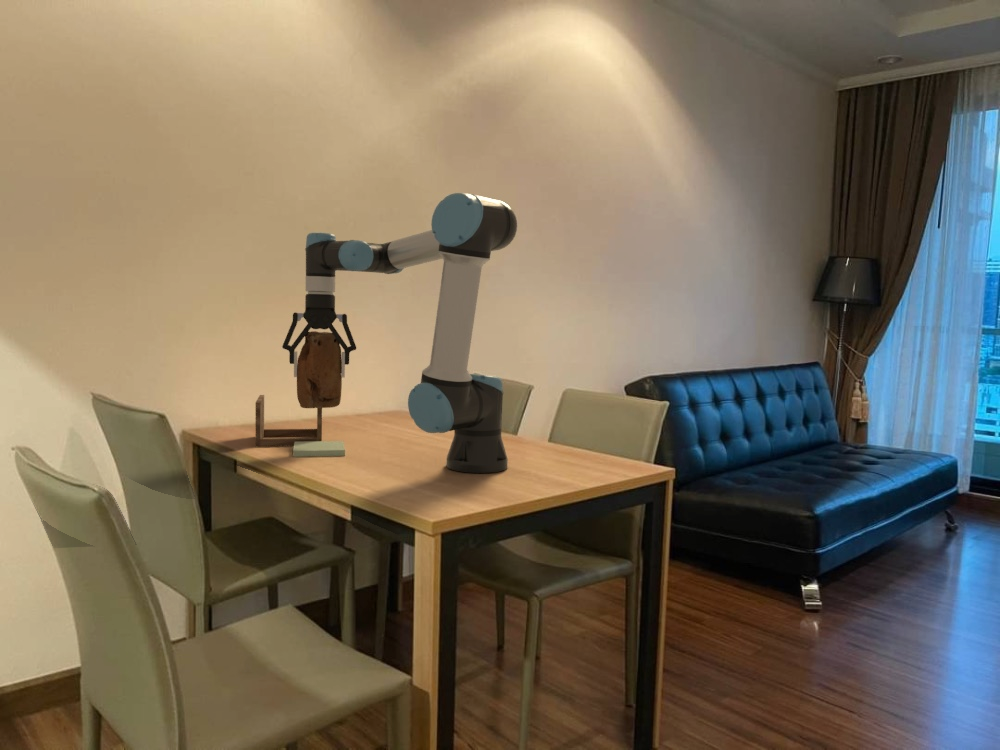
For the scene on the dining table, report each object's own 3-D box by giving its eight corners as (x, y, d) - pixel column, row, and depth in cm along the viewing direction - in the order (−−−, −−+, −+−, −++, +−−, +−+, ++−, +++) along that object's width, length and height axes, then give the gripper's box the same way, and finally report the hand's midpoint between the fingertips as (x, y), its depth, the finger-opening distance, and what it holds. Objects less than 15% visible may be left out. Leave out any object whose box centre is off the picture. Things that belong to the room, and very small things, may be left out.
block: (327, 404, 211) (328, 330, 209) (344, 407, 206) (345, 332, 204) (292, 407, 203) (293, 331, 201) (309, 411, 198) (310, 332, 196)
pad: (345, 455, 201) (345, 450, 201) (293, 456, 198) (293, 450, 198) (343, 446, 214) (343, 441, 214) (294, 447, 211) (294, 441, 211)
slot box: (321, 445, 214) (322, 402, 212) (255, 446, 210) (255, 402, 208) (321, 435, 230) (321, 395, 228) (259, 436, 225) (259, 395, 224)
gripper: (365, 294, 208) (364, 375, 210) (273, 291, 203) (273, 374, 205) (367, 295, 201) (366, 378, 203) (271, 291, 196) (271, 377, 198)
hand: (319, 376), depth 204 cm, fingers closed on block, 11 cm apart
